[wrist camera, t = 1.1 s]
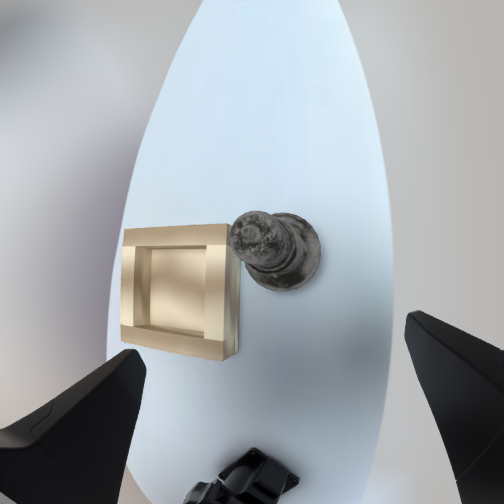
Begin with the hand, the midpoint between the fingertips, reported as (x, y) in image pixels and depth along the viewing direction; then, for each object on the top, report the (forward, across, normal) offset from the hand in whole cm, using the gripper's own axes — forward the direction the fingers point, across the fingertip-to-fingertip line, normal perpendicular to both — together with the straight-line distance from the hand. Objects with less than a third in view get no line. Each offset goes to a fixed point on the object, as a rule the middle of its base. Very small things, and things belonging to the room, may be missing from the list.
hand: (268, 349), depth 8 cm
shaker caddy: (+17, +9, +6) cm, 20 cm away
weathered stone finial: (+16, -1, +4) cm, 17 cm away
